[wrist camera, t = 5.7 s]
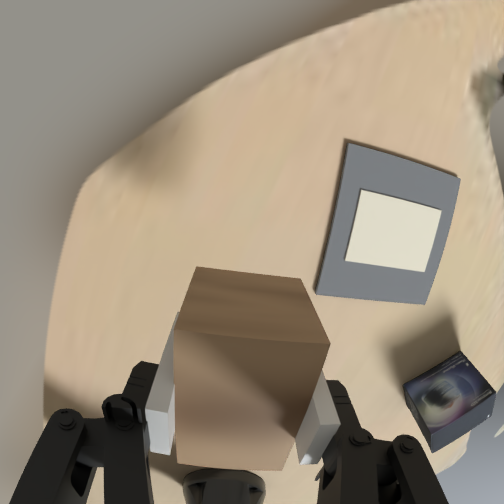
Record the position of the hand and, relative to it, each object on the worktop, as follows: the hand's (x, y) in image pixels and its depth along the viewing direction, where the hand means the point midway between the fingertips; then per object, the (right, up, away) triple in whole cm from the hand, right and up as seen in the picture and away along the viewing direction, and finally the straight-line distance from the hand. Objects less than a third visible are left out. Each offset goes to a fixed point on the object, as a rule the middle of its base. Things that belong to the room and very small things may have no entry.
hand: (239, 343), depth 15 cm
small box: (+28, -14, +21) cm, 38 cm away
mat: (+15, +7, +14) cm, 21 cm away
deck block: (0, 0, +1) cm, 1 cm away
